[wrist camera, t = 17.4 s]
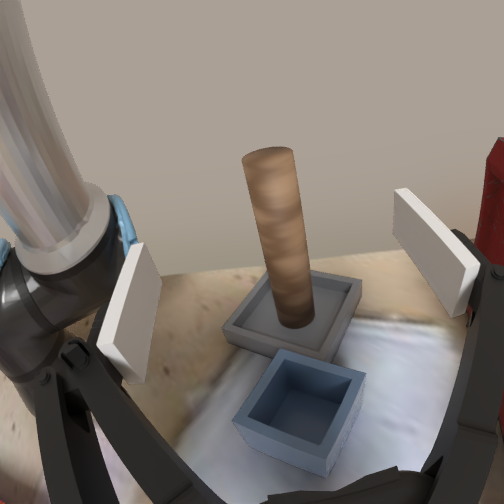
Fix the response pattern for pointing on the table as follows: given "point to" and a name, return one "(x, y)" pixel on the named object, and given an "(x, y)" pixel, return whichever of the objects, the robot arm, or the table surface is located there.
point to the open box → (302, 411)
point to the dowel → (281, 232)
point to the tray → (304, 339)
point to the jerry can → (493, 220)
